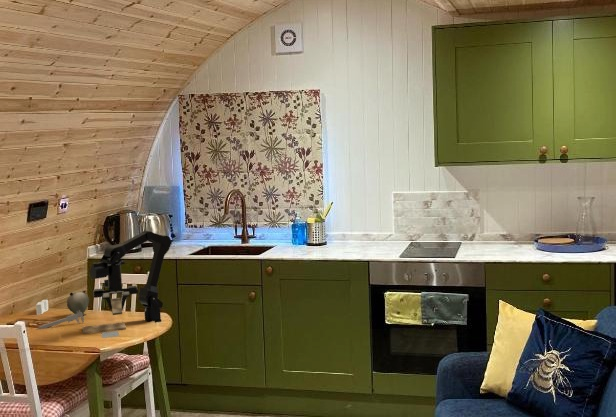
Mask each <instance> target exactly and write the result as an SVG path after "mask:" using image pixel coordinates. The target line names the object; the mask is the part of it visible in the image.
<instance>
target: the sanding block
mask: <svg viewBox="0 0 616 417" xmlns="http://www.w3.org/2000/svg"><path fill="white" fill-rule="evenodd" d="M110 301H111V306H112V312H111V314H112V316H118V315H123V311H122V303H121V302H122V297H118V298H117V297H115V298H110Z"/></svg>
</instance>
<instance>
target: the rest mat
mask: <svg viewBox="0 0 616 417" xmlns="http://www.w3.org/2000/svg"><path fill="white" fill-rule="evenodd" d="M100 333H101V334H100V335H101V338H102V339H104V338H114V337H120V334H119V333H120V332H119V330H117V331H108V332H100Z"/></svg>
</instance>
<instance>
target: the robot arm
mask: <svg viewBox="0 0 616 417" xmlns="http://www.w3.org/2000/svg"><path fill="white" fill-rule="evenodd" d="M146 242H149V243H152V251H153V256H152V259H151V264H150V268H149V272H148V275H147V280H146V284H145V285H144V286H142V287H140V288H138V286H137V285H128V286H127V288H123V283H122V282H123V280H122V266H121V265H125V264H126V262H125V261H123V260H122V258H123V257H125V256H126V254H127V253H128V252H130V251H131V250H133V249H135V248H137V247H139V246H141V245H142V244H144V243H146ZM171 246H172V239H171V237H170V236H168V235H162V234H158V233H155V232H153V231H151V230H143V231H141V232H140V233H138V234H135V236H133V237H131V238H129V239H127V240H125V241H123V242H120V243H117V244H113V245H110V246H107V247H105V248H104V249H105V250H104V252H103V255H102V257H101V259H100V261H99V262H91V266H90V268H89V276H90V278H91V279H92V280H97V279H104V278H107V279H104V280H103V282H104V288H108V289H105V290H103V288H94V289H93V290H92V292H93V293H92V294H93V298H94V299H95V298H102V299H104V300H105V301H106V303H107V304H108V306H109V310H110V312H111V313H112V305H111V298H110V295H115V294H121V303H122V312H123V309H124V306H125V303H126V300H127V299H128V297H130V295H137V294H138V295H137V296H138V301H139V302H140V304H141V305H142V307H143V308H144V309H145V310H144V311H143V314H144V321H145V322H146V323H150V322H154V323H156V322H162V318H161V316H162V315H161V309H162V308H163V305H164V302H162V301H161V300H160V298H159V290H158V284H159V279H160V275H161V270H162V267H163V264H164V258H165V255H166V254H167V253H168V252H169V251H170V248H171Z"/></svg>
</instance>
